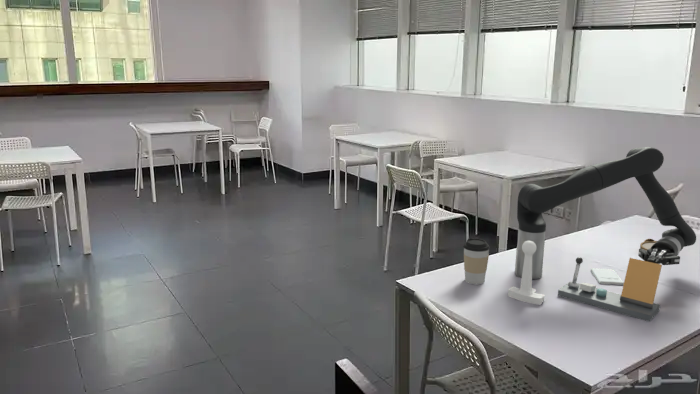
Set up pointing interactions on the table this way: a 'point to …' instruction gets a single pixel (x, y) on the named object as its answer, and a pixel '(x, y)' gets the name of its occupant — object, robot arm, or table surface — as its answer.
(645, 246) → the alarm clock
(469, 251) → the coffee cup
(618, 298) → the panel
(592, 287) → the block
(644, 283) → the tan flat slab
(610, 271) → the external hard drive
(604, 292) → the push button
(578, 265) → the toggle lever
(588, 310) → the table surface
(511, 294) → the joystick
